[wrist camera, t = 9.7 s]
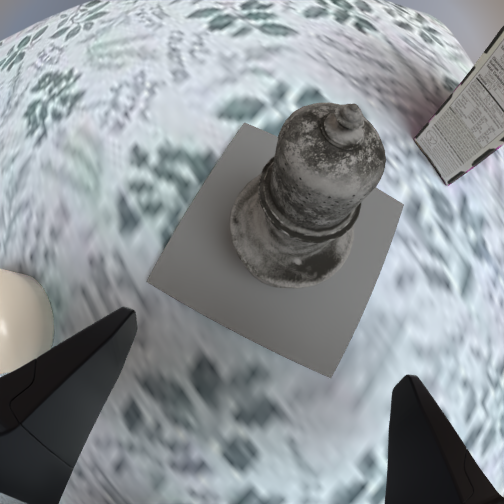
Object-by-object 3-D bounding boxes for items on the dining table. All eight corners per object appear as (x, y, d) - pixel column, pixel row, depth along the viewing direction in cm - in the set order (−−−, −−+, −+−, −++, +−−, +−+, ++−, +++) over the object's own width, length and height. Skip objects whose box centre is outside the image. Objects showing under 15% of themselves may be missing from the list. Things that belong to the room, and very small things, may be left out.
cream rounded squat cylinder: (38, 386, 15) (4, 396, 11) (-12, 331, 16) (-45, 331, 12) (68, 307, 17) (32, 304, 13) (13, 258, 17) (-20, 247, 13)
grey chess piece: (262, 178, 18) (283, 5, 6) (348, 223, 17) (472, 101, 5) (214, 262, 17) (146, 152, 5) (306, 312, 16) (438, 305, 4)
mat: (328, 376, 16) (330, 378, 15) (149, 282, 17) (146, 281, 16) (399, 207, 18) (403, 204, 18) (244, 127, 19) (244, 122, 18)
